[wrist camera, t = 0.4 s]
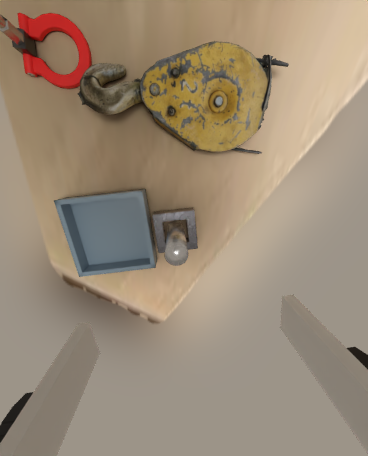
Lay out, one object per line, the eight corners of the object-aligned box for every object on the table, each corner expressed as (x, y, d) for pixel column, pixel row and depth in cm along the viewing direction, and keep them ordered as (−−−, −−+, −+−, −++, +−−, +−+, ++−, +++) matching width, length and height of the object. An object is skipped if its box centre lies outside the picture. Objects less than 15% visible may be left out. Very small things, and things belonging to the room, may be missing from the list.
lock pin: (166, 221, 35) (163, 245, 23) (182, 219, 35) (187, 242, 23) (168, 236, 36) (166, 266, 24) (184, 234, 36) (189, 264, 24)
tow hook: (91, 26, 26) (21, 11, 25) (25, -102, 14) (-120, -144, 12) (93, 94, 28) (30, 83, 27) (39, 37, 16) (-81, 13, 15)
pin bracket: (153, 211, 34) (152, 214, 32) (192, 207, 34) (194, 210, 32) (159, 247, 36) (158, 253, 34) (196, 243, 37) (197, 248, 34)
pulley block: (56, -8, 20) (305, 44, 22) (81, 23, 25) (281, 62, 28) (74, 134, 26) (268, 161, 29) (91, 135, 31) (254, 158, 34)
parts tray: (66, 197, 32) (53, 200, 29) (145, 188, 33) (142, 190, 29) (87, 267, 37) (79, 276, 34) (157, 259, 37) (155, 267, 34)
